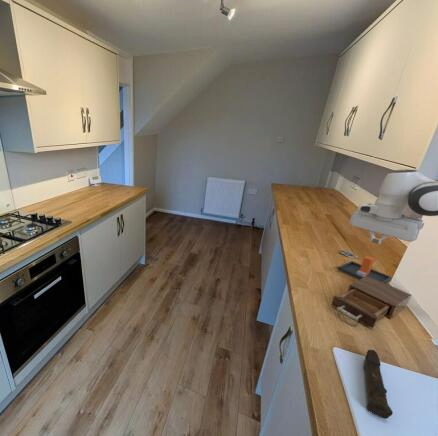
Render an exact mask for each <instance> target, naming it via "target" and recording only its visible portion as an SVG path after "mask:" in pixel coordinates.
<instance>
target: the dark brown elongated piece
mask: <svg viewBox="0 0 438 436" xmlns="http://www.w3.org/2000/svg"><path fill="white" fill-rule="evenodd" d="M381 366H382V364H381V361H380V356H379V355H378V352H377V351H375V350H374V349H367V352H366V354H365V356H364V362H363V370H364V371H365V383H366V393H367V399H368V403H367V404H366V409H367V411H368V412H369V411H370V412H369V413H371V412H372V413H371V414H373V413H374V414H373V415H375V416H376V415H377V417H378V418H382V419H389V418H390V417H392V415H393V413H394V412H393V410H392V408H391V407H390V405H389V404H388V398H387V393H388V390H387V389H386V387H385V384H384V380H383V376H382V372H381Z"/></svg>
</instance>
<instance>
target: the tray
mask: <svg viewBox="0 0 438 436" xmlns="http://www.w3.org/2000/svg"><path fill="white" fill-rule="evenodd" d="M361 265H362V264H360V263H359V262H358V263H357V262H355V261H354V260H353V261H352V260H351V261H349V262H346V263H344V264H342V265H339V266H338V268H337V271H339V272H340V273H343V274H345V275H348V276H350V277H353V278H354V277H355V278H354V279H357V280H360V279H362V278H364V277H362V276H360V275H357V274H356V273H357V271H359V270H360V268H361ZM367 276H368V277H371V278H373V279H376V280H378V281H380V282H383V283H385V284H387V283H389V282H390V281H391V280H392V276H390V275H388V274H385V273H382V272H380V271H378V270H375V269H372V268H371V270H370V273H369V275H367Z"/></svg>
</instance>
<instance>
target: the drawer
mask: <svg viewBox="0 0 438 436" xmlns="http://www.w3.org/2000/svg"><path fill="white" fill-rule="evenodd" d="M347 291H348V290H347ZM347 291H346V292H345V293H342V294H341V295H339V296H338V295H334V296H333V298H332V301H331V305H330V306H333V307H335V308H336V311H337V312H339V313H341V314H342V315H344V316H346V317H348V318H350V319H351V320H353V321H355V322H358V321H359V322H361V323H363V324H364V325H367V326H368V327H370V328H372V329H373V328H374V327H375V325H376V323H377V321H379V320H380V319H382V318H383V317H385V316H384V315H385V314H387V312H388V310H389V308H390V306H388V305H386V304H384V303H382V302H380V301H378V300H376V299H374V298H372V297H370V296H368V295H366V294H364V293H361V292H359V291H357V290H355V289H352V290H350V291H348V292H347Z"/></svg>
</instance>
